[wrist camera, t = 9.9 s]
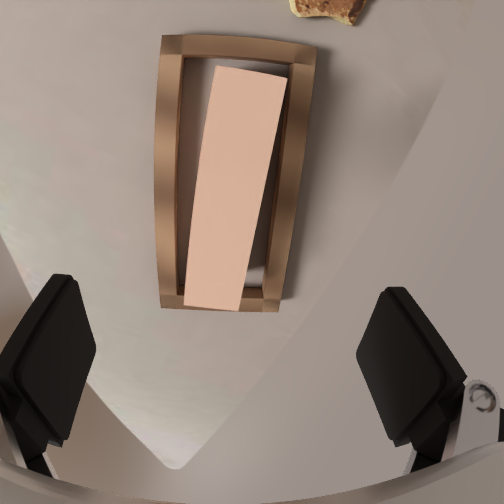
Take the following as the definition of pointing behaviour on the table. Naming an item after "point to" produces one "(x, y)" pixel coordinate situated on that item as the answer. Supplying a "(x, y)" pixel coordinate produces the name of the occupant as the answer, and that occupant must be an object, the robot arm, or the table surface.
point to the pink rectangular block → (230, 184)
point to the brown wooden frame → (288, 162)
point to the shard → (329, 9)
